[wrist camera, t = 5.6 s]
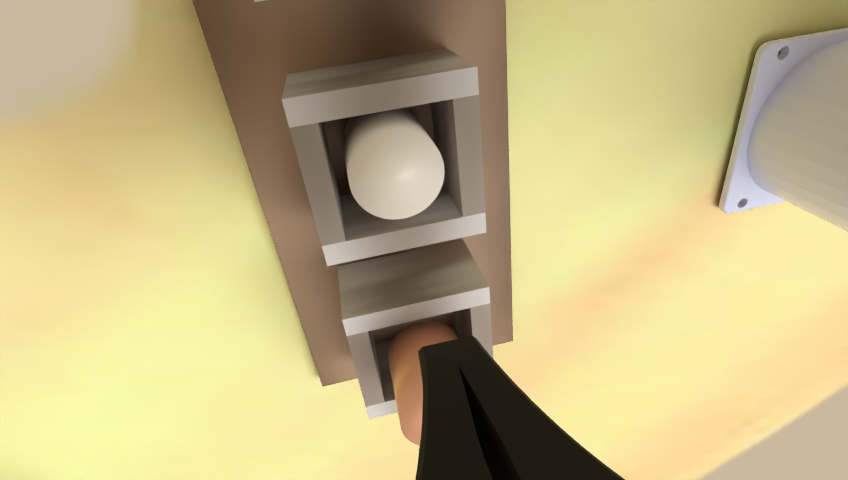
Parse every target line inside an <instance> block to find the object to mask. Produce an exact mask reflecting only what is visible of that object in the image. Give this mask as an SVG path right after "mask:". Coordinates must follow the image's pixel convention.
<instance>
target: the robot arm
mask: <svg viewBox="0 0 848 480" xmlns="http://www.w3.org/2000/svg"><path fill="white" fill-rule="evenodd" d="M780 50H781V52H780V54H779V55H778V53H779V51H780ZM739 201H740V202H739ZM785 201H787V202H789V203H791V204H793V205H795V206H797V207H799V208H801V209H803V210H805V211H807V212H809V213H811V214H813V215H815V216H817V217H819V218H821V219H824V220H826V221H828V222H830V223H832V224H834V225H836V226H838V227H840V228H842V229H844V230H846V231H848V27H847V28H841V29H835V30H830V31H824V32H818V33H812V34H807V35H801V36H795V37H790V38H784V39H778V40H772V41H768V42H765V43H764V44H763V45H761V46H760V48H759V49H758V50H757V52H756V55H755V58H754V62H753V67H752V71H751V75H750V79H749V83H748V87H747V91H746V95H745V100H744V104H743V108H742V112H741V116H740V120H739V124H738V128H737V132H736V137H735V141H734V145H733V149H732V153H731V157H730V161H729V165H728V170H727V174H726V178H725V182H724V186H723V190H722V194H721V198H720V202H719V208H720V210H721V211H723V212H725V213H727V214H731V213H735V212H740V211H744V210H749V209H754V208H758V207H763V206H767V205H772V204H776V203H781V202H785ZM418 355H419V362H420V369H421V376H422V383H423V409H422V430H421V440H420V449H419V458H418V467H417V474H416V480H625V479H623V478H622V477H621V476H619V475H618V474H617V473H615V472H614V471H613V470H611V469H610V468H609V467H607V466H606V465H605V464H603V463H602V462H601V461H600V460H598V459H597V458H596V457H595V456H593V455H592V454H591V453H590V452H588V451H587V450H586V449H585V448H583V447H582V446H581V445H580V444H579V443H578V442H576V441H575V440H574V439H573V438H572V437H571V436H569V435H568V434H567V433H566V432H565V431H564V430H563V429H561V428H560V427H559V426H558V425H557V424H556V423H555V422H554V421H553V420H552V419H550V418H549V417H548V416H547V415H546V414H545V413H544V412H543V411H542V410H541V409H540V408H539V407H538V406H537V405H536V404H535V403H534V402H533V401H532V400H531V399H530V398H529V397H528V396H527V395H526V394H525V393H524V392H523V391H522V390H521V389H520V388H519V387H518V386H517V385H516V384H515V383H514V382H513V381H512V380H511V379H510V378H509V376H508V375H507V374H506V373H505V372H504V371H503V370H502V369H501V368H500V366H499V365H498V364H497V363H496V362H495V361H494V359H493V358H492V357H491V356H490V355H489V353H488V352H487V351H486V350H485V349H484V347H483V346H482V345H481V343H480V342H479V341H478V339H477V338H475V337H474V336H468V337H463V338H459V339H454V340H450V341H445V342H441V343H437V344H432V345H428V346H423V347H421V349H420V350H419V351H418Z"/></svg>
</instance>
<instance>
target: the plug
mask: <svg viewBox="0 0 848 480" xmlns="http://www.w3.org/2000/svg"><path fill="white" fill-rule="evenodd" d="M342 146H343V152H344V158H345V163H346V169H347V175H348V181H349V186H350V190H351V192H352V195H353V197H354V198H355V200H356V201H357V203H358V204H359V205H360V206H361V207H362V208H363V209H364V210H366V211H367V212H369V213H370V214H372V215H374V216H377V217H380V218H384V219H391V220H395V219H404V218H408V217H411V216H414V215H416V214H418V213H420V212H422V211H423V210H424V209H426V208H427V207H428V206H429V205H430V204H431V203H432V202H433V201H434V200H435V199H436V197H437V196H438V194H439V192H440V190H441V188H442V185H443V181H444V174H445V171H444V162H443V159H442V156H441V154H440V152H439V150H438V148H437V147H436V145H435V144H434V143H433V141H432V140H431V138H430V137H429V135H428V134H427V132H426V131H425V130H424V128H423V127H422V125H421V124H420V122H419V121H418V120H417V118H416V117H415V115H414V114H413V113H412V112H411V111H410V110H409V109H408V108H406V107H405V108H399V109H393V110H388V111H382V112H376V113H371V114H365V115H359V116H354V117H350V118H349V119H348V121H347V123H346V125H345V128H344V131H343V136H342Z"/></svg>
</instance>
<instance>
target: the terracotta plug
mask: <svg viewBox="0 0 848 480" xmlns="http://www.w3.org/2000/svg"><path fill="white" fill-rule="evenodd" d="M454 339H458V336H457V334H456V333H455V331H454V330H453V329H452V328H451V327H449V326H447V325H445V324H443V323H440V322H434V321H427V322H420V323H416V324H413V325H410V326H408V327H406V328H405V329H403V330H402V331H400V332H399V333H398V334H397V335H396V336H395V337H394V338H393V339H392V341H391V343H390V345H389V347H388V351H387V357H388V363H389V368H390V373H391V378H392V383H393V389H394V394H395V399H396V404H397V409H398V414H399V419H400V425H401V429H402V432H403V434H404V436H405V437H406V438H407V439H408V440H409V441H411V442H413V443H415V444H417V445H420V440H421V430H422V409H423V383H422V376H421V369H420V362H419V355H418V351H419V350H420V349H421V347H423V346H428V345H432V344H437V343H441V342H445V341H450V340H454Z"/></svg>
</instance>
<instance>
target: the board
mask: <svg viewBox="0 0 848 480" xmlns="http://www.w3.org/2000/svg"><path fill="white" fill-rule="evenodd" d="M193 3H194V6H195V9H196V12H197V15H198V18H199V21H200V24H201V27H202V30H203V33H204V36H205V39H206V42H207V45H208V48H209V51H210V54H211V57H212V60H213V63H214V66H215V69H216V72H217V74H218V77H219V80H220V83H221V86H222V89H223V92H224V95H225V98H226V101H227V104H228V107H229V110H230V113H231V116H232V119H233V122H234V125H235V128H236V131H237V134H238V137H239V140H240V143H241V146H242V149H243V152H244V155H245V158H246V161H247V164H248V167H249V169H250V172H251V175H252V178H253V181H254V184H255V187H256V190H257V193H258V196H259V199H260V202H261V205H262V208H263V211H264V214H265V217H266V220H267V223H268V226H269V229H270V232H271V235H272V238H273V241H274V244H275V247H276V250H277V253H278V256H279V259H280V261H281V264H282V267H283V270H284V273H285V276H286V279H287V282H288V285H289V288H290V291H291V294H292V297H293V300H294V303H295V306H296V309H297V312H298V315H299V318H300V321H301V324H302V327H303V330H304V333H305V336H306V339H307V342H308V345H309V348H310V351H311V354H312V356H313V359H314V362H315V365H316V368H317V371H318V374H319V377H320V380H321V383H322V386H327V385H331V384H336V383H340V382H344V381H348V380H352V379H356V378H358V380H359V383H360V387H361V391H362V394H363V398H364V402H365V405H366V409H367V413H368V416H369V419H372V418H376V417H380V416H384V415H388V414H392V413H396V412H398V409H397V404H396V399H395V394H394V389H393V383H392V378H391V373H390V368H389V363H388V357H387V351H388V347H389V345H390V343H391V341H392V339H393V338H394V337H395V336H396V335H397V334H398V333H399V332H400V331H402V330H403V329H405V328H406V327H408V326H410V325H413V324H416V323H420V322H427V321H434V322H440V323H443V324H445V325H447V326H449V327H451V328H452V329H453V330H454V331H455V333H456V334H457V336H458V339H459V338H463V337H468V336H474V337H475V338H477V339H478V341H479V342H480V343H481V345H482V346H483V347H484V349H485V350H486V351H487V352H488V353H489V355H490V356H491V357H492V358H493V345H497V344H502V343H506V342H510V341H513V326H512V281H511V235H510V190H509V145H508V99H507V54H506V9H505V0H193ZM405 107H406V108H408V109H409V110H410V111H411V112H412V113H413V114H414V115H415V117H416V118H417V120H418V121H419V122H420V124H421V125H422V127H423V128H424V130H425V131H426V132H427V134H428V135H429V137H430V138H431V140H432V141H433V143H434V144H435V145H436V147H437V148H438V150H439V152H440V154H441V156H442V159H443V162H444V171H445V174H444V181H443V185H442V188H441V190H440V192H439V194H438V196H437V197H436V199H435V200H434V201H433V202H432V203H431V204H430V205H429V206H428V207H427V208H426V209H424V210H423V211H422V212H420V213H418V214H416V215H414V216H411V217H408V218H404V219H395V220H391V219H384V218H380V217H377V216H374V215H372V214H370V213H369V212H367V211H366V210H364V209H363V208H362V207H361V206H360V205H359V204H358V203H357V201H356V200H355V198H354V197H353V195H352V192H351V190H350V186H349V181H348V175H347V169H346V163H345V158H344V152H343V146H342V136H343V131H344V128H345V125H346V123H347V121H348V119H349V118H350V117H354V116H359V115H365V114H371V113H376V112H382V111H388V110H393V109H399V108H405Z"/></svg>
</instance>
